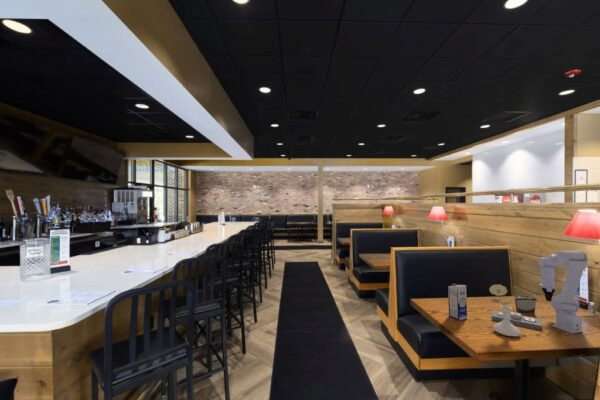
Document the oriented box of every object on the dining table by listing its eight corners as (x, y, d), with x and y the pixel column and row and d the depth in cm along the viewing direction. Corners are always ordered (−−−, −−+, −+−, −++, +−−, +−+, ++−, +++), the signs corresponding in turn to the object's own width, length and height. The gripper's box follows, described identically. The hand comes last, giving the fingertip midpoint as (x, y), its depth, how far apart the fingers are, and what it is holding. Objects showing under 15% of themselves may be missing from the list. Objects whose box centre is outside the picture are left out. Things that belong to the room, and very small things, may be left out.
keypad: (541, 323, 154) (540, 319, 154) (542, 330, 145) (542, 325, 146) (493, 313, 168) (493, 310, 168) (492, 319, 159) (491, 315, 159)
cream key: (534, 323, 153) (534, 318, 153) (535, 325, 150) (534, 321, 150) (524, 321, 156) (524, 316, 156) (524, 323, 153) (524, 319, 153)
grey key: (520, 317, 157) (520, 313, 157) (520, 320, 154) (520, 315, 154) (511, 315, 160) (511, 311, 160) (511, 318, 156) (510, 313, 156)
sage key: (507, 317, 161) (507, 313, 161) (507, 320, 157) (507, 315, 157) (498, 316, 163) (498, 311, 164) (498, 318, 160) (498, 314, 160)
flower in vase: (522, 333, 142) (521, 285, 143) (518, 341, 134) (517, 290, 135) (492, 325, 152) (491, 280, 152) (487, 332, 144) (486, 284, 144)
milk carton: (458, 320, 158) (458, 286, 159) (448, 316, 165) (447, 283, 165) (467, 318, 161) (466, 284, 161) (457, 314, 167) (456, 281, 168)
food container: (530, 310, 172) (529, 294, 172) (537, 314, 166) (536, 297, 166) (509, 310, 173) (508, 294, 174) (515, 313, 167) (515, 297, 168)
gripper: (538, 274, 171) (538, 296, 171) (539, 279, 160) (540, 302, 160) (553, 276, 167) (554, 298, 166) (556, 281, 155) (556, 305, 155)
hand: (548, 300), depth 163 cm, fingers closed
